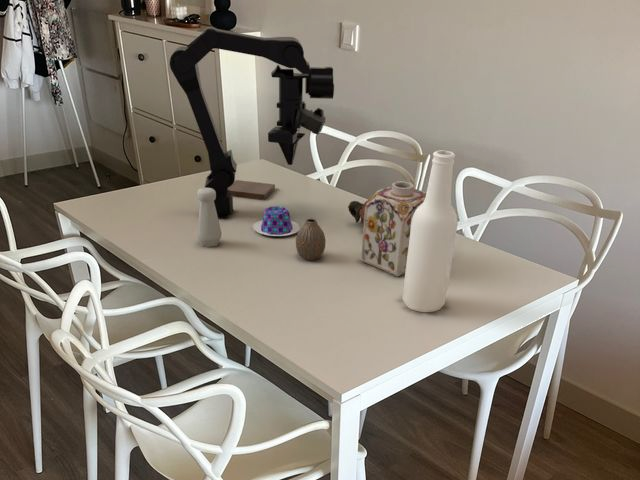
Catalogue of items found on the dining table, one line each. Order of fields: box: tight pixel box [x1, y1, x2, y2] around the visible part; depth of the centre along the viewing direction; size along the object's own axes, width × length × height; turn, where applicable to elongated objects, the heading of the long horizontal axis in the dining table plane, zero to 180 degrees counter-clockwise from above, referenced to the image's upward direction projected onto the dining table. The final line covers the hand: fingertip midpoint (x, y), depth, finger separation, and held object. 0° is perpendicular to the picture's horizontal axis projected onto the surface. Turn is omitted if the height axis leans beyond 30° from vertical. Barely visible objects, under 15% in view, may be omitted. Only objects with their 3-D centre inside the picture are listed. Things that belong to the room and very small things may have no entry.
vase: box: [295, 218, 326, 261], centre depth 153 cm, size 7×7×9 cm
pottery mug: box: [347, 199, 370, 223], centre depth 170 cm, size 12×10×8 cm
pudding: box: [252, 205, 301, 237], centre depth 167 cm, size 12×12×5 cm
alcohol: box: [401, 149, 459, 313], centre depth 129 cm, size 9×9×30 cm
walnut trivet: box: [228, 179, 276, 201], centre depth 191 cm, size 12×10×2 cm
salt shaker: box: [196, 187, 222, 248], centre depth 156 cm, size 6×6×13 cm
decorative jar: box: [360, 180, 427, 277], centre depth 149 cm, size 12×12×18 cm
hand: (290, 164), depth 170 cm, fingers closed
